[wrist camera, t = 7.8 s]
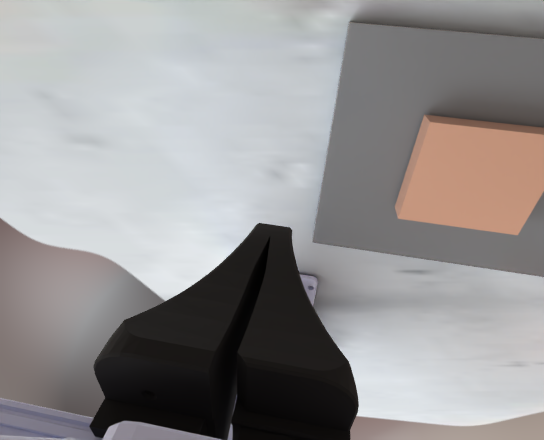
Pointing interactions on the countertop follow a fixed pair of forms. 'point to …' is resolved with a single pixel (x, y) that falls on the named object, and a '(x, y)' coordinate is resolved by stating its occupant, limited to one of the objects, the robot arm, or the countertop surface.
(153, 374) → the robot arm
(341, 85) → the slate board
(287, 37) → the countertop surface
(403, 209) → the tile
